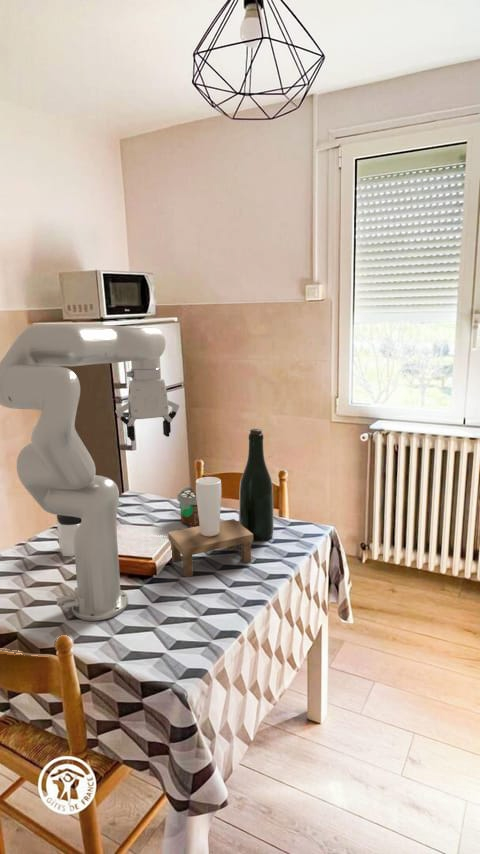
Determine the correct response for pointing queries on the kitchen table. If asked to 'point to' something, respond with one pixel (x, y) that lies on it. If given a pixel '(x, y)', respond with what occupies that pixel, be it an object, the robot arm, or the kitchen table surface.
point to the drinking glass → (208, 505)
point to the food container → (188, 507)
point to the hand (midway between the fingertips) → (149, 437)
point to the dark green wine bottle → (256, 491)
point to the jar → (67, 533)
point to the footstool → (209, 543)
